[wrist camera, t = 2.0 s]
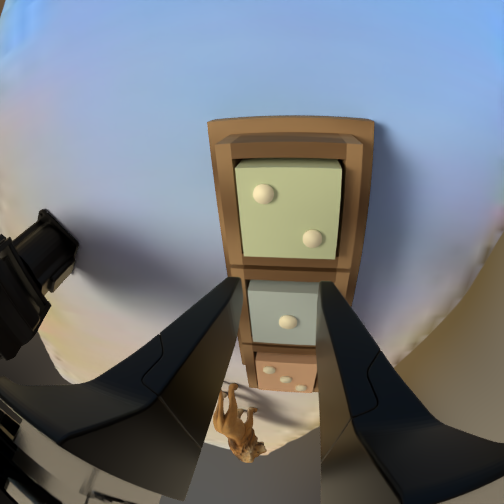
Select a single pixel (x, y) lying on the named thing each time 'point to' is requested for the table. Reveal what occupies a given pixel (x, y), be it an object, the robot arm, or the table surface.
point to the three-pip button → (286, 372)
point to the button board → (350, 216)
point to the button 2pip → (289, 206)
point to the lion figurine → (237, 428)
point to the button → (283, 311)
